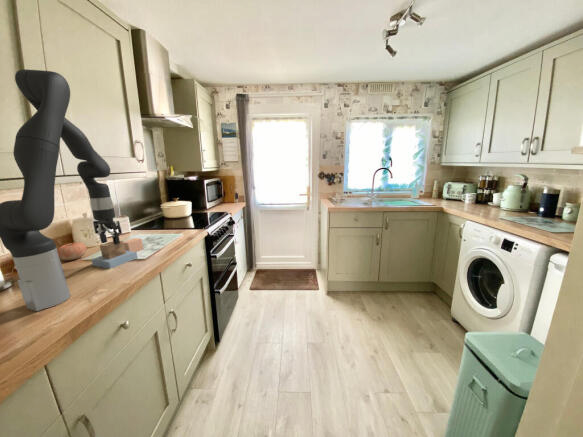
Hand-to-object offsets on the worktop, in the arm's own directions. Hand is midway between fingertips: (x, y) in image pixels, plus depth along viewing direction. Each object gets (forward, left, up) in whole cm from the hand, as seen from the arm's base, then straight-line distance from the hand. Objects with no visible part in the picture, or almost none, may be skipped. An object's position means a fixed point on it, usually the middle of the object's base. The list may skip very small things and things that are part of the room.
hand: (110, 243), depth 103 cm
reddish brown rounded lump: (-3, +26, -9) cm, 28 cm away
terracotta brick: (+12, +5, -9) cm, 16 cm away
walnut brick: (0, 0, -6) cm, 6 cm away
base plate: (0, 0, -9) cm, 9 cm away
